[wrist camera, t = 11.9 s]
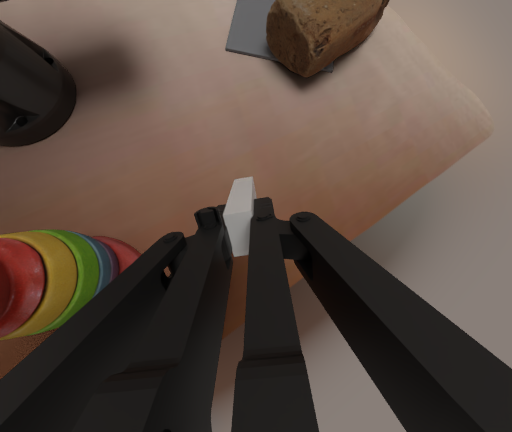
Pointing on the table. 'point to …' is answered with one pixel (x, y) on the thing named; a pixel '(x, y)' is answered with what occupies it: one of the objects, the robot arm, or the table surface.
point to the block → (318, 30)
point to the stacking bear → (53, 277)
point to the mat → (253, 30)
